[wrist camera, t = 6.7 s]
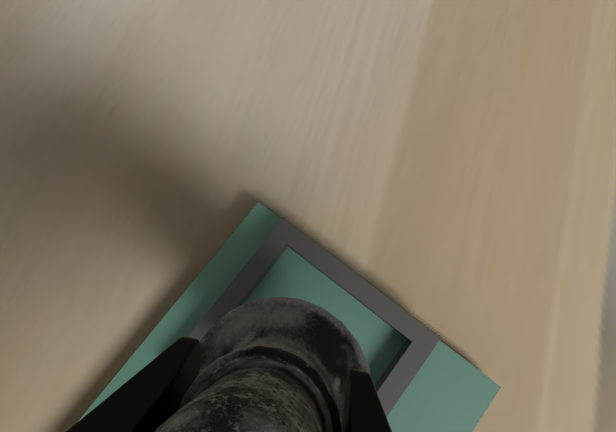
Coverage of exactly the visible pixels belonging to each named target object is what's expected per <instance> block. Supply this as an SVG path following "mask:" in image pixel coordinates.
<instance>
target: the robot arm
mask: <svg viewBox="0 0 616 432" xmlns="http://www.w3.org/2000/svg"><path fill="white" fill-rule="evenodd" d="M200 368H201V350H200V342H199V340H198V339H196V338H191V337H185V336H184V337H181V338H179V339H178V340H177V341H175V342H174V343H173V344H172V345H170V346H169V347H168V348H167V349H166V350H164V351H163V352H162V353H161V354H160V355H158V356H157V357H156V358H155V359H154V360H152V361H151V362H150V363H149V364H147V365H146V366H145V367H144V368H143V369H141V370H140V371H139V372H138V373H137V374H135V375H134V376H133V377H132V378H131V379H129V380H128V381H127V382H126V383H124V384H123V385H122V386H121V387H120V388H118V389H117V390H116V391H115V392H114V393H112V394H111V395H110V396H109V397H108V398H106V399H105V400H104V401H103V402H101V403H100V404H99V405H98V406H97V407H95V408H94V409H93V410H92V411H91V412H89V413H88V414H87V415H86V416H85V417H83V418H82V419H81V420H80V421H79V422H77V423H76V424H75V425H74V426H72V427H71V428H70V429H69V430H68V431H66V432H155V431H156V429H157V428H158V427H159V426H160V425H162V424H163V423H164V422H165V421H166V420H168V419H169V418H170V417H171V416H172V415H173V414H175V413H176V412H177V411H178V409H179V406H180V404H181V402H182V399H183V397H184V394H185V392H186V391H187V390H188V388H189V387H190V386H191V384H192V383H193V381H194V380H195V379H196V377H197V376H198V375H199V372H200ZM341 429H342V432H392V430H391V428H390V425H389V422H388V420H387V417H386V415H385V412H384V409H383V407H382V404H381V402H380V399H379V396H378V394H377V391H376V389H375V386H374V383H373V381H372V378H371V376H370V374H369V373H368V372H367V371H362V370H357V369H352V370H351V371H350V375H349V379H348V383H347V387H346V392H345V398H344V407H343V416H342V425H341Z"/></svg>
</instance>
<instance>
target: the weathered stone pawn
mask: <svg viewBox="0 0 616 432" xmlns="http://www.w3.org/2000/svg"><path fill="white" fill-rule="evenodd" d="M200 350H201V368H200V372H199V375H198V376H197V377H196V379H195V380H194V381H193V383H192V384H191V386H190V387H189V388H188V390H187V391H186V392H185V394H184V397H183V399H182V402H181V404H180V406H179V409H178V411H177V412H176V413H175V414H173V415H172V416H171V417H170V418H169V419H168V420H166V421H165V422H164V423H163V424H162V425H160V426H159V427H158V428H157V429H156V431H155V432H342V429H341V425H342V416H343V407H344V398H345V392H346V387H347V383H348V379H349V375H350V371H351V370H352V369H357V370H362V371H367V372H368V373H369V374H370V369H369V365H368V363H367V361H366V358H365V356H364V354H363V352H362V349H361V347H360V345H359V343H358V341H357V340H356V339H355V338H354V336H353V335H352V334H351V333H350V331H349V330H348V329H347V328H346V326H345V325H344V324H343V323H342V322H341V321H340V320H338V319H337V318H336V317H334V316H333V315H332V314H331V313H329V312H328V311H327V310H325V309H324V308H322V307H320V306H317V305H315V304H312V303H310V302H307V301H305V300H302V299H297V298H288V297H279V296H276V297H270V298H263V299H257V300H253V301H250V302H248V303H246V304H244V305H241V306H239V307H237V308H235V309H232V310H231V311H230V312H228V313H227V314H226V315H225V316H223V317H222V318H221V319H220V320H218V321H217V322H216V323H215V324H213V325H212V327H211V328H210V329H209V330H208V332H207V333H206V334H205V336H204V337H203V338H202V340H201V341H200ZM370 376H371V374H370Z"/></svg>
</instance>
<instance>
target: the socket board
mask: <svg viewBox="0 0 616 432" xmlns="http://www.w3.org/2000/svg"><path fill="white" fill-rule="evenodd" d="M276 296H279V297H288V298H297V299H302V300H305V301H307V302H310V303H312V304H315V305H317V306H320V307H322V308H324V309H325V310H327V311H328V312H329V313H331V314H332V315H333V316H334V317H336V318H337V319H338V320H340V321H341V322H342V323H343V324H344V325H345V326H346V328H347V329H348V330H349V331H350V333H351V334H352V335H353V336H354V338H355V339H356V340H357V341H358V343H359V345H360V347H361V349H362V352H363V354H364V356H365V358H366V361H367V363H368V365H369V369H370V374H371V378H372V381H373V383H374V386H375V389H376V391H377V394H378V396H379V399H380V402H381V404H382V407H383V409H384V412H385V415H386V417H387V420H388V422H389V425H390V428H391V430H392V432H472V431H473V430H474V428H475V427H476V425H477V424H478V422H479V420H480V419H481V417H482V416H483V414H484V413H485V411H486V410H487V408H488V407H489V405H490V403H491V402H492V400H493V399H494V397H495V396H496V394H497V393H498V391H499V389H500V388H501V387H500V386H499V385H498V384H496V383H495V382H494V381H492V380H491V379H490V378H489V377H487V376H486V375H485V374H483V373H482V372H481V371H479V370H478V369H477V368H475V367H474V366H473V365H472V364H470V363H469V362H468V361H466V360H465V359H464V358H462V357H461V356H460V355H458V354H457V353H456V352H455V351H453V350H452V349H451V348H449V347H448V346H447V345H445V344H444V343H443V342H441V341H440V339H441V338H440V337H439V336H437V335H436V334H435V333H434V332H432V331H431V330H430V329H428V328H427V327H426V326H424V325H423V324H422V323H420V322H419V321H418V320H417V319H415V318H414V317H413V316H411V315H410V314H409V313H407V312H406V311H405V310H403V309H402V308H401V307H399V306H398V305H397V304H396V303H394V302H393V301H392V300H390V299H389V298H388V297H386V296H385V295H384V294H382V293H381V292H380V291H379V290H377V289H376V288H375V287H373V286H372V285H371V284H369V283H368V282H367V281H365V280H364V279H363V278H362V277H360V276H359V275H358V274H356V273H355V272H354V271H352V270H351V269H350V268H348V267H347V266H346V265H345V264H343V263H342V262H341V261H339V260H338V259H337V258H335V257H334V256H333V255H331V254H330V253H329V252H327V251H326V250H325V249H324V248H322V247H321V246H320V245H318V244H317V243H316V242H314V241H313V240H312V239H310V238H309V237H308V236H307V235H305V234H304V233H303V232H301V231H300V230H299V229H297V228H296V227H295V226H293V225H292V224H291V223H290V222H288V221H287V220H286V219H284V218H282V219H281V218H280V217H278V216H277V215H276V214H274V213H273V212H272V211H270V210H269V209H268V208H266V207H265V206H264V205H263V204H261V203H260V202H259V201H258V203H257V204H256V205H255V206H254V208H253V209H252V210H251V211H250V212H249V214H248V215H247V216H246V217H245V219H244V220H243V221H242V222H241V223H240V225H239V226H238V227H237V228H236V229H235V231H234V232H233V233H232V234H231V236H230V237H229V238H228V239H227V240H226V242H225V243H224V244H223V245H222V247H221V248H220V249H219V250H218V251H217V253H216V254H215V255H214V256H213V257H212V259H211V260H210V261H209V262H208V264H207V265H206V266H205V267H204V268H203V270H202V271H201V272H200V273H199V275H198V276H197V277H196V278H195V279H194V281H193V282H192V283H191V284H190V285H189V287H188V288H187V289H186V290H185V292H184V293H183V294H182V295H181V296H180V298H179V299H178V300H177V301H176V303H175V304H174V305H173V306H172V307H171V309H170V310H169V311H168V312H167V313H166V315H165V316H164V317H163V318H162V320H161V321H160V322H159V323H158V324H157V326H156V327H155V328H154V329H153V331H152V332H151V333H150V334H149V335H148V337H147V338H146V339H145V340H144V342H143V343H142V344H141V345H140V346H139V348H138V349H137V350H136V351H135V352H134V354H133V355H132V356H131V357H130V359H129V360H128V361H127V362H126V363H125V365H124V366H123V367H122V368H121V370H120V371H119V372H118V373H117V374H116V376H115V377H114V378H113V379H112V380H111V382H110V383H109V384H108V385H107V387H106V388H105V389H104V390H103V391H102V393H101V394H100V395H99V396H98V398H97V399H96V400H95V401H94V402H93V404H92V405H91V406H90V407H89V408H88V410H87V411H86V412H85V413H84V415H83V416H82V417H81V418H80V419H79V421H80V420H81V419H82V418H83V417H85V416H86V415H87V414H88V413H89V412H91V411H92V410H93V409H94V408H95V407H97V406H98V405H99V404H100V403H101V402H103V401H104V400H105V399H106V398H108V397H109V396H110V395H111V394H112V393H114V392H115V391H116V390H117V389H118V388H120V387H121V386H122V385H123V384H124V383H126V382H127V381H128V380H129V379H131V378H132V377H133V376H134V375H135V374H137V373H138V372H139V371H140V370H141V369H143V368H144V367H145V366H146V365H147V364H149V363H150V362H151V361H152V360H154V359H155V358H156V357H157V356H158V355H160V354H161V353H162V352H163V351H164V350H166V349H167V348H168V347H169V346H170V345H172V344H173V343H174V342H175V341H177V340H178V339H179V338H181V337H184V336H185V337H191V338H196V339H198V340H199V342H200V341H201V340H202V338H203V337H204V336H205V334H206V333H207V332H208V330H209V329H210V328H211V327H212V325H213V324H215V323H216V322H217V321H218V320H220V319H221V318H222V317H223V316H225V315H226V314H227V313H228V312H230V311H231V310H232V309H235V308H237V307H239V306H241V305H244V304H246V303H248V302H250V301H253V300H257V299H263V298H270V297H276ZM79 421H78V422H79Z"/></svg>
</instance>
